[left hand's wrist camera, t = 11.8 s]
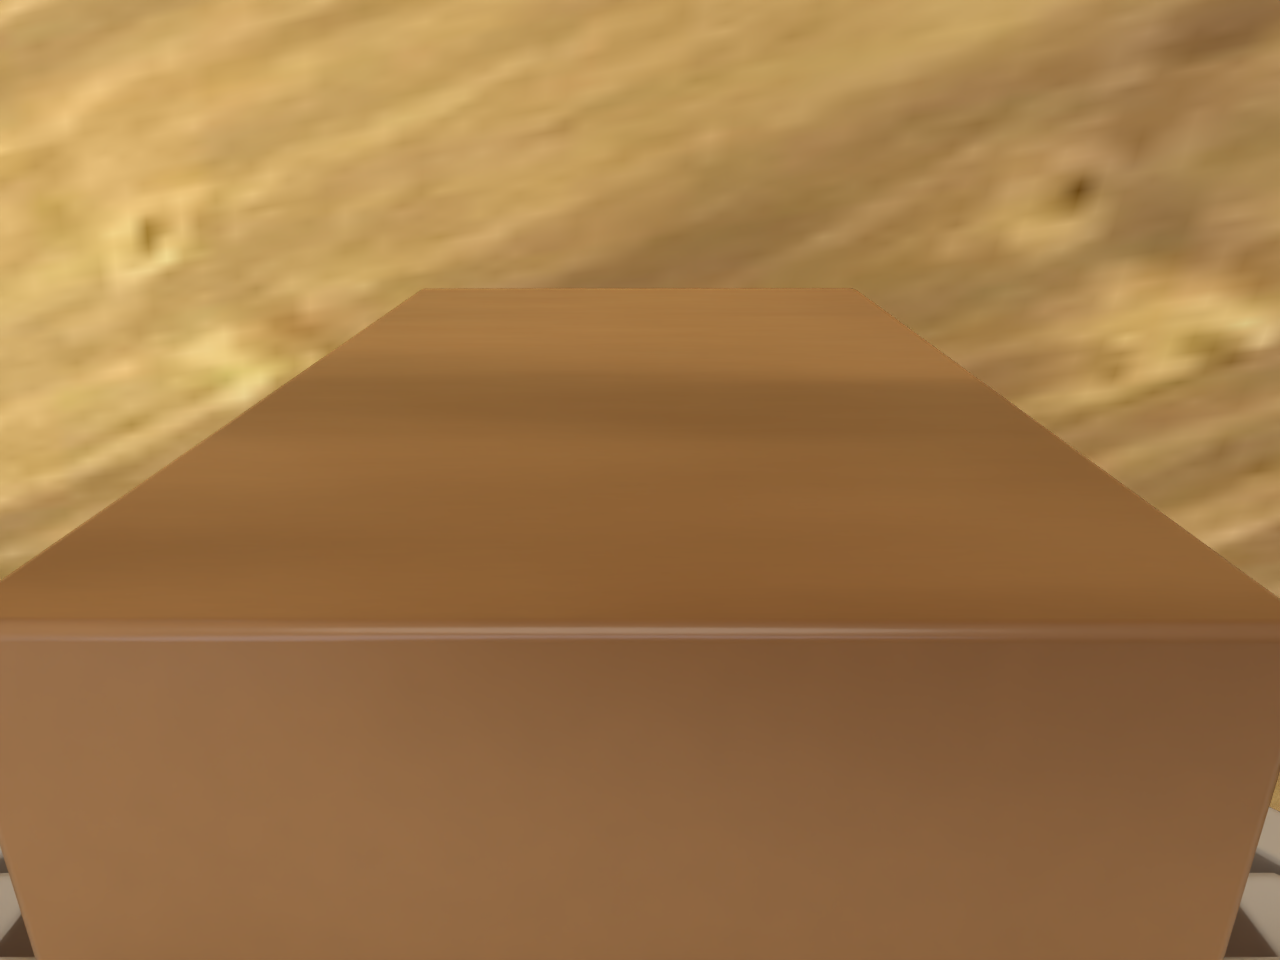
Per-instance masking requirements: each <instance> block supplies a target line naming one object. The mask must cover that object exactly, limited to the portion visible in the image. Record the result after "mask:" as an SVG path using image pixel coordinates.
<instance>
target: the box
mask: <svg viewBox="0 0 1280 960" xmlns="http://www.w3.org/2000/svg"><path fill="white" fill-rule="evenodd" d="M1279 772H1280V599H1279V598H1278V597H1276V596H1275V595H1274V594H1272V593H1271V592H1270V591H1268V590H1267V589H1266V588H1264V587H1263V586H1261V585H1260V584H1259V583H1257V582H1256V581H1255V580H1253V579H1252V578H1250V577H1249V576H1248V575H1246V574H1245V573H1244V572H1242V571H1241V570H1239V569H1238V568H1237V567H1235V566H1234V565H1233V564H1231V563H1230V562H1228V561H1227V560H1226V559H1224V558H1223V557H1222V556H1220V555H1219V554H1218V553H1216V552H1215V551H1213V550H1212V549H1211V548H1209V547H1208V546H1207V545H1205V544H1204V543H1202V542H1201V541H1200V540H1198V539H1197V538H1196V537H1194V536H1193V535H1191V534H1190V533H1189V532H1187V531H1186V530H1185V529H1183V528H1182V527H1181V526H1179V525H1178V524H1176V523H1175V522H1174V521H1172V520H1171V519H1170V518H1168V517H1167V516H1165V515H1164V514H1163V513H1161V512H1160V511H1159V510H1157V509H1156V508H1154V507H1153V506H1152V505H1150V504H1149V503H1148V502H1146V501H1145V500H1144V499H1142V498H1141V497H1139V496H1138V495H1137V494H1135V493H1134V492H1133V491H1131V490H1130V489H1128V488H1127V487H1126V486H1124V485H1123V484H1122V483H1120V482H1119V481H1117V480H1116V479H1115V478H1113V477H1112V476H1111V475H1109V474H1108V473H1107V472H1105V471H1104V470H1102V469H1101V468H1100V467H1098V466H1097V465H1096V464H1094V463H1093V462H1091V461H1090V460H1089V459H1087V458H1086V457H1085V456H1083V455H1082V454H1080V453H1079V452H1078V451H1076V450H1075V449H1074V448H1072V447H1071V446H1069V445H1068V444H1067V443H1065V442H1064V441H1063V440H1061V439H1060V438H1059V437H1057V436H1056V435H1054V434H1053V433H1052V432H1050V431H1049V430H1048V429H1046V428H1045V427H1043V426H1042V425H1041V424H1039V423H1038V422H1037V421H1035V420H1034V419H1032V418H1031V417H1030V416H1028V415H1027V414H1026V413H1024V412H1023V411H1022V410H1020V409H1019V408H1017V407H1016V406H1015V405H1013V404H1012V403H1011V402H1009V401H1008V400H1006V399H1005V398H1004V397H1002V396H1001V395H1000V394H998V393H997V392H995V391H994V390H993V389H991V388H990V387H989V386H987V385H986V384H985V383H983V382H982V381H980V380H979V379H978V378H976V377H975V376H974V375H972V374H971V373H969V372H968V371H967V370H965V369H964V368H963V367H961V366H960V365H958V364H957V363H956V362H954V361H953V360H952V359H950V358H949V357H948V356H946V355H945V354H943V353H942V352H941V351H939V350H938V349H937V348H935V347H934V346H932V345H931V344H930V343H928V342H927V341H926V340H924V339H923V338H921V337H920V336H919V335H917V334H916V333H915V332H913V331H912V330H910V329H909V328H908V327H906V326H905V325H904V324H902V323H901V322H900V321H898V320H897V319H895V318H894V317H893V316H891V315H890V314H889V313H887V312H886V311H884V310H883V309H882V308H880V307H879V306H878V305H876V304H875V303H873V302H872V301H871V300H869V299H868V298H867V297H865V296H864V295H863V294H861V293H860V292H858V291H857V290H855V289H853V288H509V289H422V290H420V291H419V292H417V293H416V294H414V295H413V296H411V297H410V298H409V299H407V300H406V301H404V302H403V303H401V304H400V305H398V306H397V307H396V308H394V309H393V310H391V311H390V312H388V313H387V314H385V315H384V316H383V317H381V318H380V319H378V320H377V321H375V322H374V323H372V324H371V325H370V326H368V327H367V328H365V329H364V330H362V331H361V332H359V333H358V334H356V335H355V336H354V337H352V338H351V339H349V340H348V341H346V342H345V343H343V344H342V345H341V346H339V347H338V348H336V349H335V350H333V351H332V352H330V353H329V354H328V355H326V356H325V357H323V358H322V359H320V360H319V361H317V362H316V363H315V364H313V365H312V366H310V367H309V368H307V369H306V370H304V371H303V372H301V373H300V374H299V375H297V376H296V377H294V378H293V379H291V380H290V381H288V382H287V383H286V384H284V385H283V386H281V387H280V388H278V389H277V390H275V391H274V392H273V393H271V394H270V395H268V396H267V397H265V398H264V399H262V400H261V401H260V402H258V403H257V404H255V405H254V406H252V407H251V408H249V409H248V410H247V411H245V412H244V413H242V414H241V415H239V416H238V417H236V418H235V419H233V420H232V421H231V422H229V423H228V424H226V425H225V426H223V427H222V428H220V429H219V430H218V431H216V432H215V433H213V434H212V435H210V436H209V437H207V438H206V439H205V440H203V441H202V442H200V443H199V444H197V445H196V446H194V447H193V448H192V449H190V450H189V451H187V452H186V453H184V454H183V455H181V456H180V457H178V458H177V459H176V460H174V461H173V462H171V463H170V464H168V465H167V466H165V467H164V468H163V469H161V470H160V471H158V472H157V473H155V474H154V475H152V476H151V477H150V478H148V479H147V480H145V481H144V482H142V483H141V484H139V485H138V486H137V487H135V488H134V489H132V490H131V491H129V492H128V493H126V494H125V495H124V496H122V497H121V498H119V499H118V500H116V501H115V502H113V503H112V504H110V505H109V506H108V507H106V508H105V509H103V510H102V511H100V512H99V513H97V514H96V515H95V516H93V517H92V518H90V519H89V520H87V521H86V522H84V523H83V524H82V525H80V526H79V527H77V528H76V529H74V530H73V531H71V532H70V533H69V534H67V535H66V536H64V537H63V538H61V539H60V540H58V541H57V542H55V543H54V544H53V545H51V546H50V547H48V548H47V549H45V550H44V551H42V552H41V553H40V554H38V555H37V556H35V557H34V558H32V559H31V560H29V561H28V562H27V563H25V564H24V565H22V566H21V567H19V568H18V569H16V570H15V571H14V572H12V573H11V574H9V575H8V576H6V577H5V578H3V579H2V580H1V581H0V847H1V850H2V854H3V857H4V860H5V863H6V866H7V870H8V873H9V876H10V879H11V882H12V885H13V889H14V892H15V895H16V898H17V901H18V905H19V908H20V911H21V914H22V917H23V921H24V924H25V927H26V930H27V933H28V937H29V940H30V943H31V946H32V949H33V953H34V956H35V959H36V960H1223V959H1224V956H1225V953H1226V949H1227V946H1228V943H1229V939H1230V936H1231V932H1232V929H1233V926H1234V922H1235V919H1236V916H1237V912H1238V909H1239V906H1240V902H1241V899H1242V896H1243V892H1244V889H1245V886H1246V882H1247V879H1248V876H1249V872H1250V869H1251V866H1252V862H1253V859H1254V856H1255V852H1256V849H1257V846H1258V842H1259V839H1260V836H1261V832H1262V829H1263V826H1264V822H1265V819H1266V816H1267V812H1268V809H1269V806H1270V802H1271V799H1272V796H1273V792H1274V789H1275V785H1276V782H1277V779H1278V775H1279Z"/></svg>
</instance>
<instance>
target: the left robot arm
mask: <svg viewBox="0 0 1280 960" xmlns="http://www.w3.org/2000/svg"><path fill="white" fill-rule="evenodd" d="M0 960H36V959H35V956H34V953H33V949H32V946H31V943H30V940H29V937H28V933H27V930H26V927H25V924H24V921H23V917H22V914H21V911H20V908H19V905H18V901H17V898H16V895H15V892H14V889H13V885H12V882H11V879H10V876H9V873H8V870H7V866H6V863H5V860H4V857H3V854H2V850H1V847H0ZM1223 960H1280V812H1279V811H1277V810H1275V809H1273V808H1271V807H1269V809H1268V812H1267V816H1266V819H1265V822H1264V826H1263V829H1262V832H1261V836H1260V839H1259V842H1258V846H1257V849H1256V852H1255V856H1254V859H1253V862H1252V866H1251V869H1250V872H1249V876H1248V879H1247V882H1246V886H1245V889H1244V892H1243V896H1242V899H1241V902H1240V906H1239V909H1238V912H1237V916H1236V919H1235V922H1234V926H1233V929H1232V932H1231V936H1230V939H1229V943H1228V946H1227V949H1226V953H1225V956H1224V959H1223Z"/></svg>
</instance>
